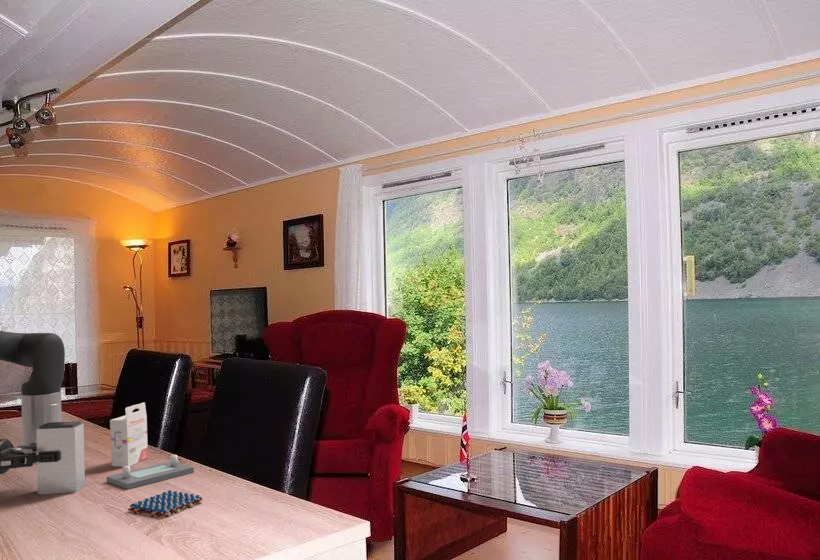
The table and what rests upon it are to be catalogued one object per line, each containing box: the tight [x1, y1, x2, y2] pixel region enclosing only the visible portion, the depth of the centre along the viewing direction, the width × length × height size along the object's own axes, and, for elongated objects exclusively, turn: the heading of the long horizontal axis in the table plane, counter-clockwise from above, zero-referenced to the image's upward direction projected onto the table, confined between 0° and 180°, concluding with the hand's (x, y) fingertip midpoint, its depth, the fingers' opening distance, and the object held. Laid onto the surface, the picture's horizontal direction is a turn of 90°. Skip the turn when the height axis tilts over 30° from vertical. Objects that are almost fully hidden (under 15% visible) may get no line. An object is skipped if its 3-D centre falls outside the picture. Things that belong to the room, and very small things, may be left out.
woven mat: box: [127, 489, 203, 520], centre depth 128 cm, size 10×11×2 cm
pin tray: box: [106, 454, 195, 490], centre depth 150 cm, size 16×10×4 cm, turn 140°
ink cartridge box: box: [109, 401, 149, 468], centre depth 164 cm, size 9×5×15 cm, turn 168°
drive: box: [36, 420, 86, 495], centre depth 142 cm, size 4×8×15 cm, turn 95°
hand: (64, 453), depth 142 cm, fingers closed on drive, 4 cm apart
